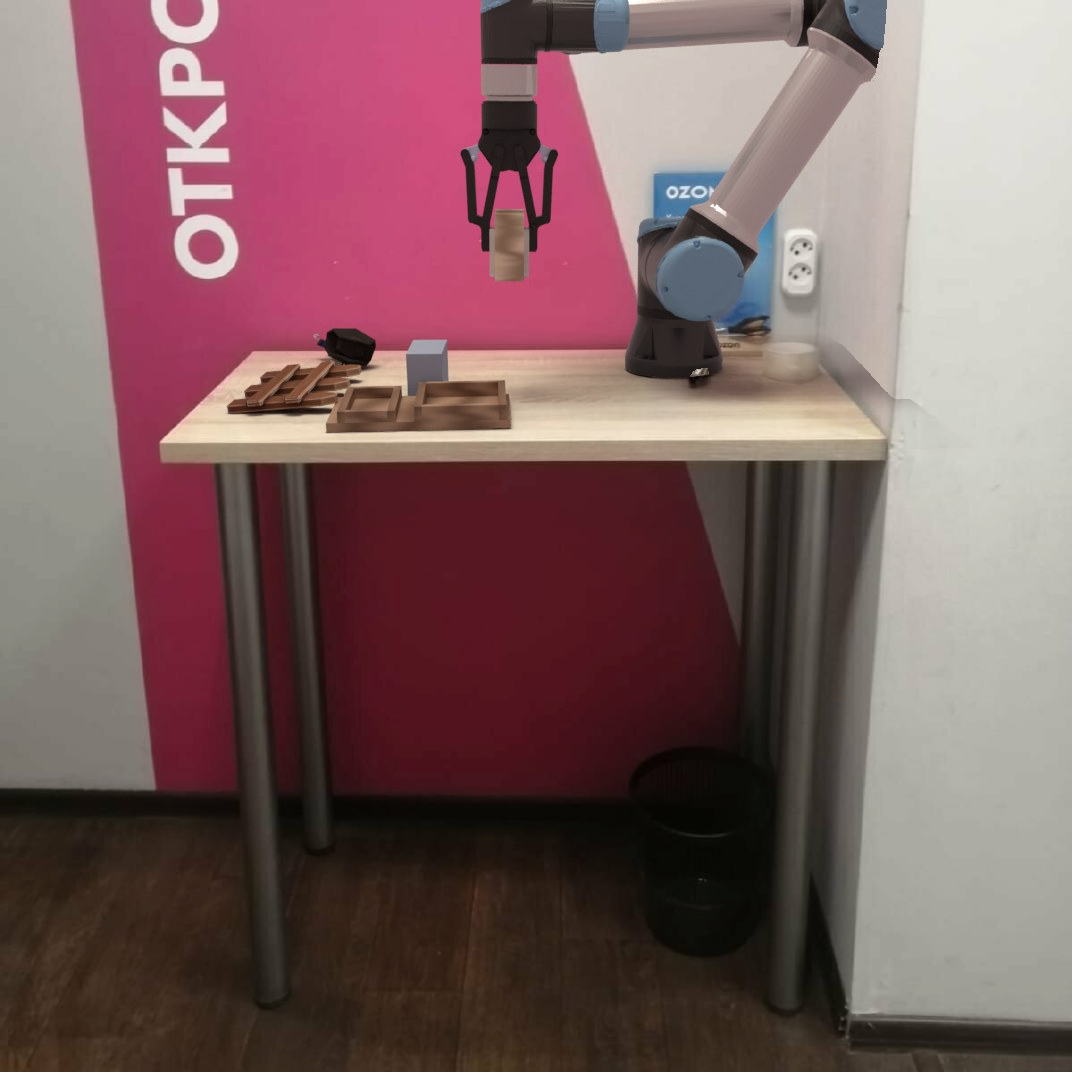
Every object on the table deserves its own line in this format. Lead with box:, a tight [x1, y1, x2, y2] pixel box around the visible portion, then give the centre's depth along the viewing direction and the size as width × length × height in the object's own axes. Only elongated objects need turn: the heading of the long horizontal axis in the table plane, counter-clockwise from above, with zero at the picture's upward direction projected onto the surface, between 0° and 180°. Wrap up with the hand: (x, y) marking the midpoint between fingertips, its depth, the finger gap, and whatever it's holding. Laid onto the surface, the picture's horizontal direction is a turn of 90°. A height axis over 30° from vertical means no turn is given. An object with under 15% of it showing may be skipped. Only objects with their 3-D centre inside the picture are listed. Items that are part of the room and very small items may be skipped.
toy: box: [313, 327, 377, 367], centre depth 203 cm, size 9×6×15 cm
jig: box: [325, 379, 512, 433], centre depth 171 cm, size 24×14×3 cm, turn 92°
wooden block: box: [494, 208, 525, 282], centre depth 176 cm, size 4×7×9 cm, turn 1°
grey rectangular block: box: [405, 339, 450, 396], centre depth 183 cm, size 5×10×7 cm, turn 179°
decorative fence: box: [226, 360, 362, 415], centre depth 184 cm, size 23×2×15 cm
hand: (509, 275), depth 178 cm, fingers closed on wooden block, 4 cm apart
